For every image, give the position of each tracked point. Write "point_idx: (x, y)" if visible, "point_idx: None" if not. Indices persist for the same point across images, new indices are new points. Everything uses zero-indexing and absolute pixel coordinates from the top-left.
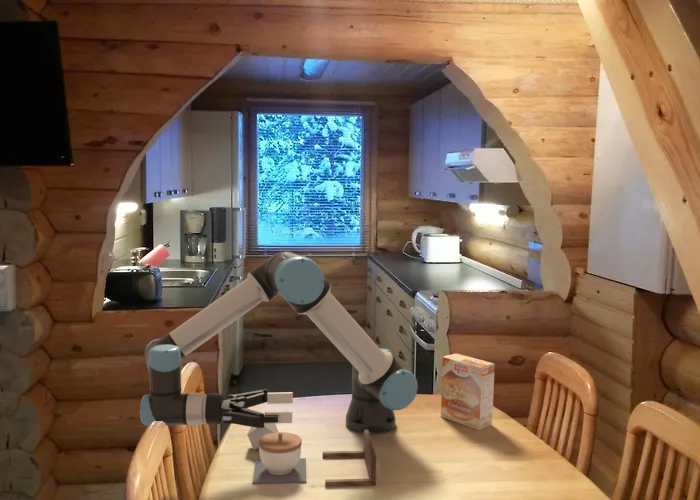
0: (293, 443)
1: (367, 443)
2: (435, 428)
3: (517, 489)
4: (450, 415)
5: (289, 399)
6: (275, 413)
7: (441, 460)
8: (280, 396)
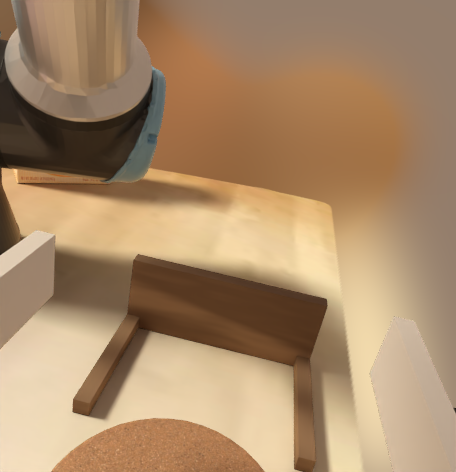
0: (234, 465)
1: (228, 283)
2: (64, 204)
3: (320, 234)
4: (45, 174)
5: (43, 283)
6: (448, 408)
7: (206, 247)
8: (6, 296)
